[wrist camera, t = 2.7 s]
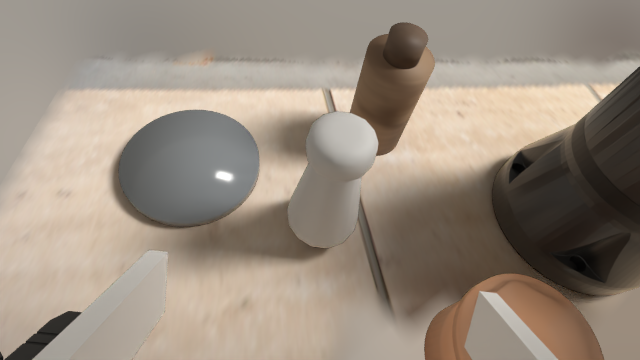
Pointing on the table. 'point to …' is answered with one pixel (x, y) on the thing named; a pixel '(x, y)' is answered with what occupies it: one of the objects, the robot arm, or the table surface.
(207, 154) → the slate coaster
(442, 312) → the terracotta pot
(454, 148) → the table surface
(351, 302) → the table surface
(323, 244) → the salt shaker
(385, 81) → the walnut pepper mill
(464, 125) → the table surface
